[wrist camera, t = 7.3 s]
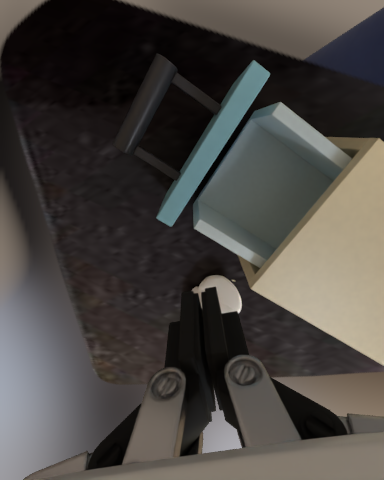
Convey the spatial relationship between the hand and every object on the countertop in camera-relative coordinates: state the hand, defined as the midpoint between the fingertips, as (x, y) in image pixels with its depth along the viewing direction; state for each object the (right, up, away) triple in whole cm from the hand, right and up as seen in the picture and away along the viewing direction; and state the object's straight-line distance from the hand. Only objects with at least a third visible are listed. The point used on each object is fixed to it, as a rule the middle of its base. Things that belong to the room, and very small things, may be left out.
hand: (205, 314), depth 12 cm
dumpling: (+2, -2, +16) cm, 16 cm away
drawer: (+3, +10, +10) cm, 14 cm away
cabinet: (+12, +5, +13) cm, 18 cm away
